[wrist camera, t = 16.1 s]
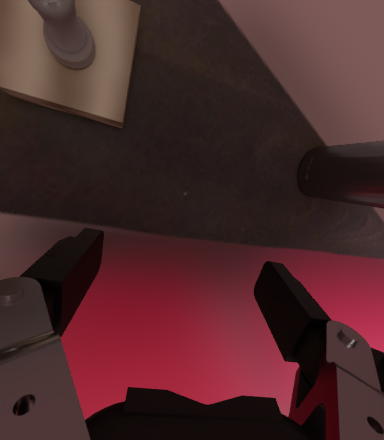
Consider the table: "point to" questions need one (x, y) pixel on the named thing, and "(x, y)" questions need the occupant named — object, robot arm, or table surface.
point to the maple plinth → (63, 75)
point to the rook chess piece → (65, 32)
